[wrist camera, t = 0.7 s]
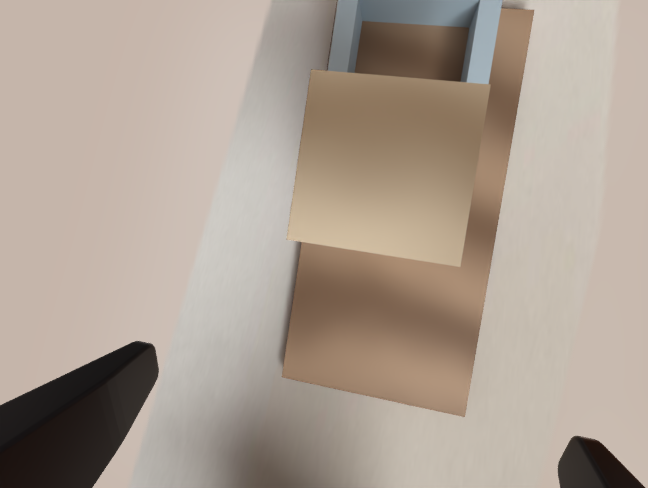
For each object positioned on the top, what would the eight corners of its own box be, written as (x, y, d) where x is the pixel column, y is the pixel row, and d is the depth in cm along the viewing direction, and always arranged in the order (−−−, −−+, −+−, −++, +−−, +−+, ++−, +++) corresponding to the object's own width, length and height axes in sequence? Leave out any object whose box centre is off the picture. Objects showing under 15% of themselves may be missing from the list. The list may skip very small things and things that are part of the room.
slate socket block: (467, 156, 21) (478, 145, 18) (326, 140, 22) (319, 128, 20) (491, 9, 21) (506, -22, 18) (347, 1, 22) (342, -28, 19)
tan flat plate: (461, 408, 22) (464, 417, 21) (286, 371, 24) (281, 377, 23) (527, 20, 21) (534, 10, 20) (339, 9, 23) (337, -1, 22)
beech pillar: (420, 249, 21) (460, 267, 10) (341, 236, 22) (286, 239, 10) (434, 168, 21) (490, 84, 9) (352, 158, 22) (310, 69, 10)
